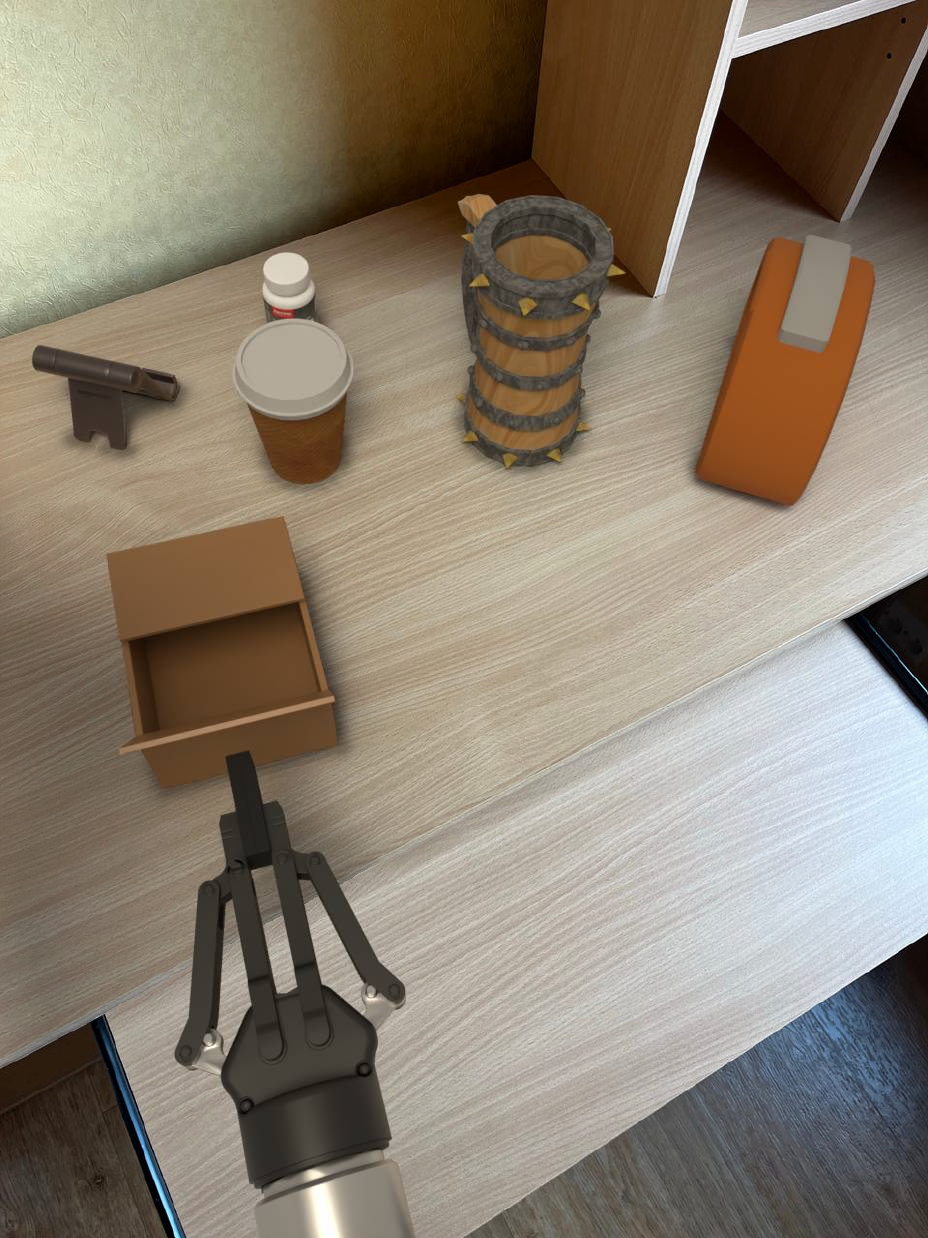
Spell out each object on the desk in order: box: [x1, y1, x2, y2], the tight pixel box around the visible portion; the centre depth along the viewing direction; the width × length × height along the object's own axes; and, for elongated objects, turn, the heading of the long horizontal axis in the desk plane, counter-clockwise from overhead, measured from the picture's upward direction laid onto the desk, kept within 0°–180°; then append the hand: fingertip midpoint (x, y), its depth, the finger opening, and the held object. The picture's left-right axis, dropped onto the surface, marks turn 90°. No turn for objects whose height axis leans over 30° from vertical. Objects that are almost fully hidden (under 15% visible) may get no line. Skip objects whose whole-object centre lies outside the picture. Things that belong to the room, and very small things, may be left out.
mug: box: [454, 193, 626, 469], centre depth 88 cm, size 13×17×20 cm
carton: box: [106, 515, 339, 790], centre depth 78 cm, size 13×15×9 cm
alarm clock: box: [695, 234, 876, 506], centre depth 90 cm, size 23×9×17 cm, turn 161°
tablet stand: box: [31, 344, 179, 451], centre depth 91 cm, size 9×8×8 cm
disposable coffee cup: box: [231, 319, 355, 485], centre depth 88 cm, size 10×10×12 cm
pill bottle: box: [261, 251, 319, 324], centre depth 96 cm, size 5×5×8 cm
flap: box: [117, 688, 336, 756], centre depth 67 cm, size 13×7×1 cm
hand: (240, 762), depth 66 cm, fingers closed
